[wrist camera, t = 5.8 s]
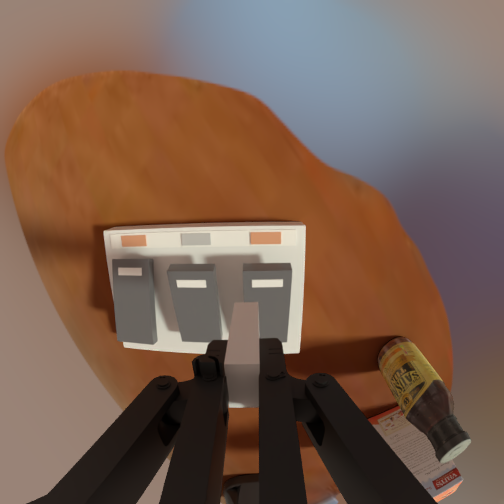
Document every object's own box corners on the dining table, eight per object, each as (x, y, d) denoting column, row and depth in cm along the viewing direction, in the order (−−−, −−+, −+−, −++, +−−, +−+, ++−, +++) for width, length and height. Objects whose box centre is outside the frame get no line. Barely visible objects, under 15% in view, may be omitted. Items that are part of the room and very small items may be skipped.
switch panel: (296, 340, 34) (300, 358, 30) (132, 336, 34) (120, 352, 30) (300, 221, 30) (307, 227, 26) (115, 226, 31) (98, 232, 27)
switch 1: (157, 340, 28) (153, 345, 26) (123, 337, 28) (117, 341, 26) (153, 258, 28) (148, 258, 26) (118, 258, 28) (111, 259, 27)
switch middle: (222, 334, 30) (221, 343, 28) (184, 333, 30) (182, 341, 29) (215, 263, 26) (213, 271, 24) (170, 263, 26) (166, 271, 25)
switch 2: (285, 333, 30) (286, 342, 28) (246, 334, 30) (245, 343, 28) (290, 262, 26) (292, 270, 24) (243, 263, 26) (242, 271, 24)
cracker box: (345, 442, 40) (370, 532, 19) (342, 426, 38) (371, 525, 18) (412, 415, 38) (455, 493, 18) (414, 396, 37) (465, 480, 17)
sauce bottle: (385, 333, 34) (458, 433, 14) (417, 336, 34) (492, 421, 15) (367, 370, 35) (420, 474, 16) (400, 371, 35) (457, 462, 16)
